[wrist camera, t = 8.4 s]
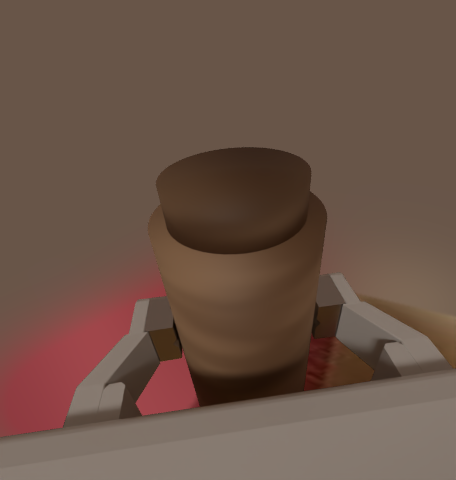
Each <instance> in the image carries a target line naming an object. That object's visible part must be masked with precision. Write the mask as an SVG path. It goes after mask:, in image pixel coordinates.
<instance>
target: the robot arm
mask: <svg viewBox="0 0 456 480" xmlns="http://www.w3.org/2000/svg"><path fill="white" fill-rule="evenodd" d="M312 335H313V337H314V339H317V338H325V337H334V336H336V338H337V339H338V340H339V341H341V342H342V343H343V344H344V345H345V346H347V347H348V348H349V349H350V350H351V351H352V352H354V353H355V354H356V355H357V356H358V357H360V358H361V359H362V360H363V361H364V362H365V363H367V364H368V365H369V366H370V367H371V368H373V369H374V370H375V371H374V374H373V376H372V379H371V381H369V382H362V383H356V384H349V385H343V386H336V387H329V388H323V389H316V390H309V391H303V392H296V393H290V394H283V395H276V396H270V397H263V398H257V399H250V400H244V401H237V402H230V403H224V404H217V405H211V406H204V407H198V408H191V409H184V410H178V411H171V412H165V413H158V414H151V415H145V416H142V415H141V413H140V411H139V409H138V408H137V406H136V404H135V403H136V401H137V400H138V398H139V396H140V395H141V393H142V392H143V390H144V388H145V387H146V385H147V383H148V382H149V380H150V379H151V377H152V375H153V374H154V372H155V371H156V369H157V367H158V366H159V364H160V361H167V360H173V359H179V358H182V344H181V341H180V338H179V334H178V331H177V328H176V324H175V321H174V318H173V314H172V311H171V308H170V304H169V301H168V298H167V296H165V297H156V298H149V299H140V300H138V301H137V302H136V305H135V309H134V313H133V318H132V322H131V327H130V331H129V334H128V335H125V336H124V337H123V338H122V339H121V340H120V341H119V342H118V343H117V344H116V345H115V346H114V348H113V349H112V350H111V351H110V352H109V353H108V354H107V355H106V356H105V357H104V358H103V359H102V360H101V362H100V363H99V364H98V365H97V366H96V367H95V368H94V369H93V370H92V372H90V373H89V375H88V376H87V377H86V378H85V379H84V380H83V381H82V382H81V383H80V384H79V385H78V387H77V388H76V390H75V393H74V396H73V399H72V402H71V405H70V408H69V411H68V414H67V416H66V420H65V422H64V425H63V428H59V429H52V430H45V431H39V432H32V433H25V434H18V435H12V436H5V437H0V480H456V368H455V369H453V368H452V367H451V365H450V364H449V363H448V362H447V360H446V359H445V358H444V357H443V355H442V354H441V353H440V352H439V350H438V349H437V348H436V347H435V345H434V344H433V343H432V342H431V340H430V339H429V338H428V337H427V336H425V335H424V334H422V333H420V332H418V331H416V330H415V329H413V328H411V327H409V326H408V325H406V324H404V323H402V322H400V321H399V320H397V319H395V318H393V317H391V316H390V315H388V314H386V313H384V312H383V311H381V310H379V309H377V308H375V307H374V306H372V305H370V304H368V303H367V302H365V301H364V302H361V301H360V300H359V298H358V297H357V295H356V294H355V292H354V291H353V290H352V288H351V286H350V285H349V283H348V282H347V280H346V279H345V278H344V276H343V275H342V273H340V272H339V273H332V274H325V275H319V281H318V289H317V296H316V303H315V311H314V318H313V325H312Z"/></svg>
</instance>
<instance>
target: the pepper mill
mask: <svg viewBox="0 0 456 480" xmlns="http://www.w3.org/2000/svg"><path fill="white" fill-rule="evenodd" d="M310 182H311V168H310V166H309V165H308V163H307V162H306V161H304V160H303V159H302V158H300V157H298V156H296V155H294V154H291V153H288V152H284V151H280V150H275V149H267V148H254V147H245V148H243V147H242V148H228V149H220V150H214V151H209V152H204V153H200V154H197V155H193V156H190V157H187V158H185V159H182V160H180V161H178V162H176V163H174V164H172V165H170V166H169V167H167V168H166V169H165V170H164V171H163V172H161V174H160V175H159V176H158V178H157V181H156V187H157V191H158V195H159V199H160V203H161V204H160V205H159V206H158V207H157V208H156V209H155V211H154V212H153V214H152V215H151V217H150V220H149V223H148V233H149V237H150V240H151V244H152V247H153V251H154V254H155V257H156V260H157V264H158V267H159V271H160V274H161V277H162V281H163V284H164V287H165V291H166V294H167V298H168V301H169V304H170V308H171V311H172V314H173V318H174V321H175V324H176V328H177V331H178V334H179V338H180V341H181V344H182V348H183V351H184V354H185V358H186V361H187V364H188V368H189V371H190V374H191V378H192V381H193V384H194V388H195V391H196V395H197V398H198V401H199V405H200V407H204V406H211V405H217V404H224V403H230V402H237V401H244V400H250V399H257V398H263V397H270V396H276V395H283V394H290V393H296V392H303V391H304V384H305V377H306V369H307V362H308V355H309V347H310V340H311V333H312V325H313V318H314V311H315V303H316V296H317V289H318V281H319V274H320V267H321V258H322V252H323V244H324V237H325V230H326V222H327V213H326V209H325V207H324V205H323V204H322V202H321V201H320V200H319V198H318V197H316V196H315V195H314V194H313V193H311V192H310Z"/></svg>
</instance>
